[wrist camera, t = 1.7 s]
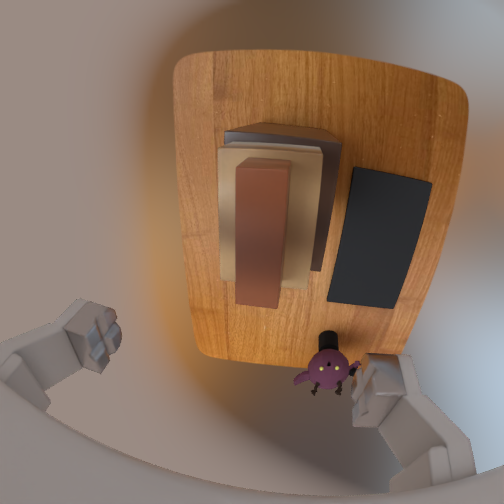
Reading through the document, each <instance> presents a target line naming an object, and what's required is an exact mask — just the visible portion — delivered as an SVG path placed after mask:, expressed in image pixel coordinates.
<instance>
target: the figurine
mask: <svg viewBox="0 0 504 504" xmlns="http://www.w3.org/2000/svg"><path fill="white" fill-rule="evenodd" d="M359 362H360V361H355V363H353V364H352V365H350V366H349V363H348V360H347V358H346V357H345V356H344V355H343V354H342V353H341V352H340V351H339V347H338V335H337V334H336V333H335V332H334V331H324V332H322V333H321V334H320V335H319V352H318V353H316V354H315V355H314V356H313V358H312V359H311V361H310V362H309V364H308V371H304V372H302V373H301V374H299V375H297V376H296V377H295V378H294V385H297V384H299V383H301V382H304V381H307V380H311V382H312V383H314V384H315V387H314V389H315V390H312V391H311V392H312V394H313V395H314V396H315V393H316V392H317V387H319V388H322V389H333V388H336V387H338V386H339V387H338V389H337V390H336V391H335V393H336V394H337V395H341V393H340V392H341V391H342V388H341V386H342V383H343V382H344V381H345V380H346V378H347V377H348V375H350V376H353V377H354V375H355V372H356V370H358V369H357V368H358V366H359V365H361V364H360V363H359Z"/></svg>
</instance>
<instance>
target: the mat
mask: <svg viewBox="0 0 504 504" xmlns="http://www.w3.org/2000/svg"><path fill="white" fill-rule="evenodd" d="M431 188H432V183H429V182H425V181H421V180H417V179H413V178H408V177H404V176H399V175H395V174H390V173H385V172H380V171H375V170H370V169H365V168H359V167H354V168H353V174H352V181H351V187H350V192H349V198H348V204H347V209H346V215H345V220H344V225H343V230H342V235H341V240H340V245H339V249H338V254H337V258H336V263H335V267H334V272H333V276H332V280H331V284H330V288H329V292H328V296H327V301H328V302H336V303H344V304H353V305H361V306H370V307H380V308H389V309H394V306H395V304H396V301H397V299H398V296H399V294H400V291H401V288H402V286H403V283H404V280H405V277H406V275H407V272H408V269H409V266H410V263H411V260H412V257H413V254H414V251H415V247H416V244H417V241H418V238H419V234H420V231H421V227H422V224H423V220H424V216H425V213H426V209H427V205H428V201H429V196H430V192H431Z"/></svg>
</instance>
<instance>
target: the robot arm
mask: <svg viewBox="0 0 504 504" xmlns="http://www.w3.org/2000/svg"><path fill="white" fill-rule="evenodd" d="M116 319H117V316H116V312H115V310H114V309H111V308H109V307H106V306H103V305H100V304H97V303H93V302H91V301H86V300H84V299H76V300H75V301H74V302H73V303H72V304H71V305H70V306H69V307H68V308H67V309H66V310H65V312H64V313H63V314H61V316H60V317H59V318H58V319H57V320H56V321H55V322H54V323H53V324H50V323H49V324H46V325H44V326H41V327H39V328H36V329H34V330H31V331H29V332H26V333H23V334H21V335H19V336H16V337H13V338H11V339H8V340H6V341H3V342H1V343H0V504H504V465H503V466H500V467H497V468H494V469H492V470H489V471H486V472H483V473H480V474H477V473H476V468H475V462H474V457H473V452H472V448H471V443H470V439H469V438H468V437H467V436H466V435H465V434H464V433H463V432H462V431H461V430H460V429H459V428H458V427H457V426H456V425H455V424H454V423H453V422H452V421H451V420H450V419H449V418H448V417H447V416H446V415H445V414H444V413H443V412H442V411H441V410H440V409H439V407H438V406H436V404H435V403H433V401H432V400H431V399H430V398H429V397H428V396H427V395H422V392H421V388H420V384H419V381H418V377H417V373H416V370H415V367H414V364H413V360H412V357H411V356H410V355H399V354H395V355H394V354H377V353H365V354H364V355H363V357H362V360H361V368H359V369H358V370H356V372H355V375H354V377H353V381H352V386H351V398H352V399H353V400H354V402H355V405H354V407H353V409H352V418H353V427H378V430H379V432H380V433H381V435H382V436H383V438H384V440H385V441H386V443H387V444H388V445H389V447H390V448H391V450H392V452H393V453H394V455H395V456H396V458H397V459H398V461H399V462H400V464H401V465H402V467H403V468H404V469H403V470H402V471H401V472H399V473H398V474H397V475H395V476H394V477H393V478H392V479H391V480H390V493H383V494H371V495H352V496H315V495H296V494H284V493H275V492H266V491H258V490H252V489H246V488H240V487H235V486H230V485H225V484H220V483H216V482H211V481H207V480H203V479H199V478H195V477H192V476H188V475H184V474H180V473H178V472H174V471H171V470H168V469H165V468H162V467H159V466H156V465H153V464H151V463H148V462H145V461H142V460H140V459H137V458H134V457H132V456H130V455H127V454H125V453H122V452H120V451H118V450H116V449H113V448H111V447H109V446H107V445H104V444H102V443H100V442H98V441H96V440H94V439H92V438H90V437H88V436H86V435H84V434H82V433H80V432H79V431H77V430H75V429H73V428H71V427H70V426H68V425H66V424H64V423H62V422H61V421H59V420H58V419H56V418H54V417H53V416H51V415H49V414H48V413H46V412H45V411H46V409H47V408H48V407H49V405H50V403H51V402H50V399H49V397H48V396H47V395H46V393H45V392H44V391H45V390H47V389H49V388H50V387H52V386H54V385H55V384H57V383H59V382H60V381H62V380H63V379H65V378H67V377H68V376H70V375H72V374H74V373H75V372H77V371H78V370H80V369H82V367H84V368H86V369H89V370H92V371H94V372H97V373H100V374H101V373H102V371H103V370H104V369H105V367H106V366H107V364H108V363H109V361H110V358H109V355H111V354H113V353H115V352H116V351H117V349H118V348H119V346H120V343H121V340H122V333H121V329H120V327H119V325H118V324H117V323H116V322H115V321H116Z"/></svg>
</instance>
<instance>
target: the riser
mask: <svg viewBox="0 0 504 504" xmlns="http://www.w3.org/2000/svg"><path fill="white" fill-rule="evenodd" d="M230 142H260V143H278V144H292V145H303V146H314V147H320V149H321V151H322V153H323V165H322V176H321V186H320V196H319V205H318V214H317V223H316V231H315V239H314V247H313V254H312V261H311V268H310V270H311V271H319V272H320V271H321V267H322V262H323V257H324V252H325V247H326V242H327V237H328V231H329V226H330V220H331V214H332V208H333V202H334V196H335V190H336V183H337V177H338V170H339V163H340V155H341V148H342V143H341V142H340V141H338V140H337V139H336V138H335V137H334V136H332V135H331V134H330V133H329V132H327V131H326V130H324V129H317V128H309V127H301V126H293V125H283V124H273V123H261V122H260V123H255V124H251V125H247V126H243V127H239V128H235V129H231V130H227V131H225V136H224V145H226V144H228V143H230Z"/></svg>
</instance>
